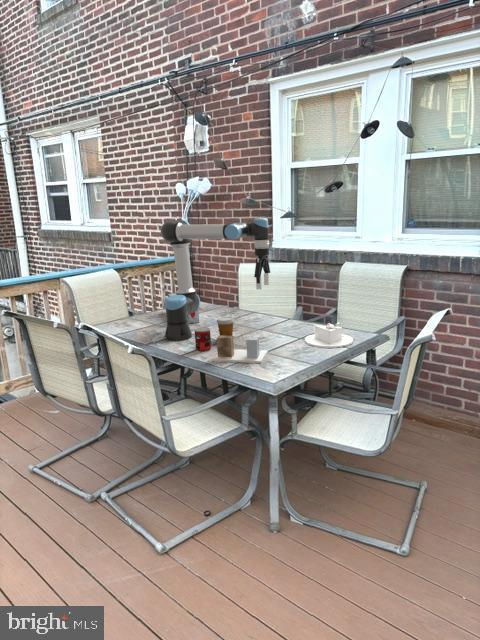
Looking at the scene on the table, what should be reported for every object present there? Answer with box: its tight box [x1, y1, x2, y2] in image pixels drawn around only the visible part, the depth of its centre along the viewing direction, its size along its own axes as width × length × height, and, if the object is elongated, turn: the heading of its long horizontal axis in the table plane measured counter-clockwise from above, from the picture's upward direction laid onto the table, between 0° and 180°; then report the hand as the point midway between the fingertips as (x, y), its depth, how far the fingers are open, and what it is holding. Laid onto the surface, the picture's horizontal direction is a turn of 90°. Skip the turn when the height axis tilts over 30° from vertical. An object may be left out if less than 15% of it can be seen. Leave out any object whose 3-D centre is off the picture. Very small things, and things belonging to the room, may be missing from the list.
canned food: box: [194, 326, 212, 352], centre depth 237 cm, size 8×8×11 cm
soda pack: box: [167, 293, 200, 325], centre depth 308 cm, size 41×13×14 cm, turn 18°
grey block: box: [245, 336, 260, 358], centre depth 220 cm, size 5×5×9 cm
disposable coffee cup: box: [216, 316, 235, 336], centre depth 252 cm, size 10×10×12 cm
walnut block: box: [216, 334, 235, 358], centre depth 221 cm, size 7×4×10 cm, turn 75°
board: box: [211, 348, 269, 364], centre depth 224 cm, size 24×16×1 cm, turn 75°
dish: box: [304, 321, 354, 349], centre depth 242 cm, size 25×25×11 cm
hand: (262, 287), depth 252 cm, fingers open, 13 cm apart
